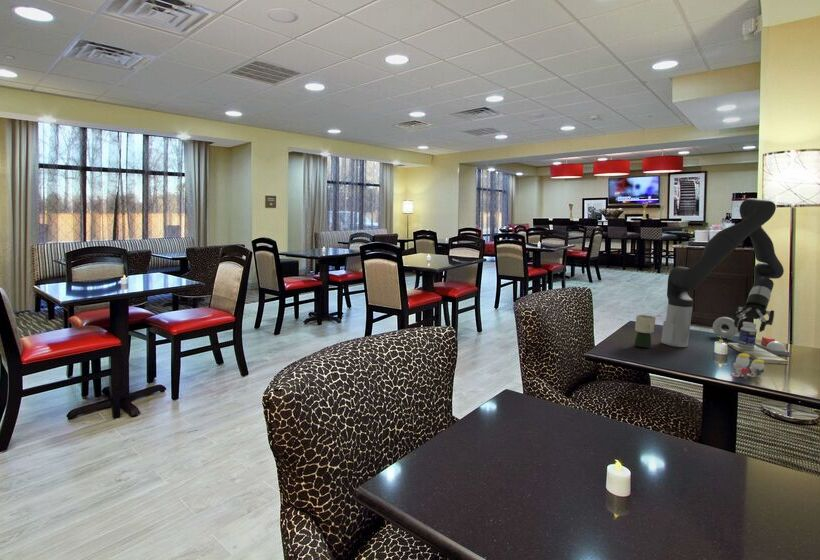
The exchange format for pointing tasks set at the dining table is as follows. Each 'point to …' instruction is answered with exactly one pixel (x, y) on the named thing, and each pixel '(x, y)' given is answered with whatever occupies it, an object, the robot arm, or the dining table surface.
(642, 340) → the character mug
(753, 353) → the game track
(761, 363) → the toy figures
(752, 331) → the pill bottle
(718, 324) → the donut
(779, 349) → the dice dome
